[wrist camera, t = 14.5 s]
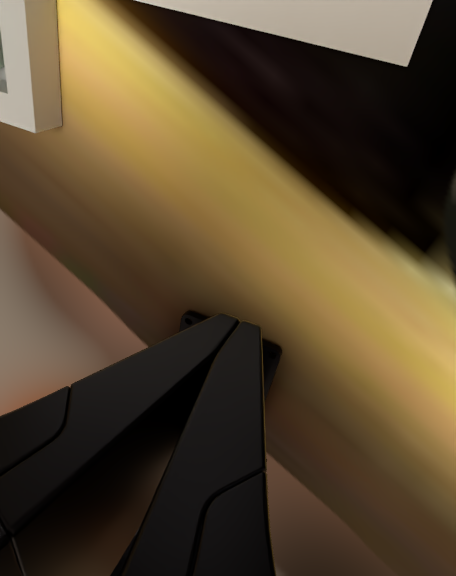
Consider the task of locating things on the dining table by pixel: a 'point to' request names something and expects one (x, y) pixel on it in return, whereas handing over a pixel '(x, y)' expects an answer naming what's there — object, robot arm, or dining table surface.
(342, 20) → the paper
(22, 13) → the button housing
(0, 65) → the button
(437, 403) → the dining table surface
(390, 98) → the dining table surface
